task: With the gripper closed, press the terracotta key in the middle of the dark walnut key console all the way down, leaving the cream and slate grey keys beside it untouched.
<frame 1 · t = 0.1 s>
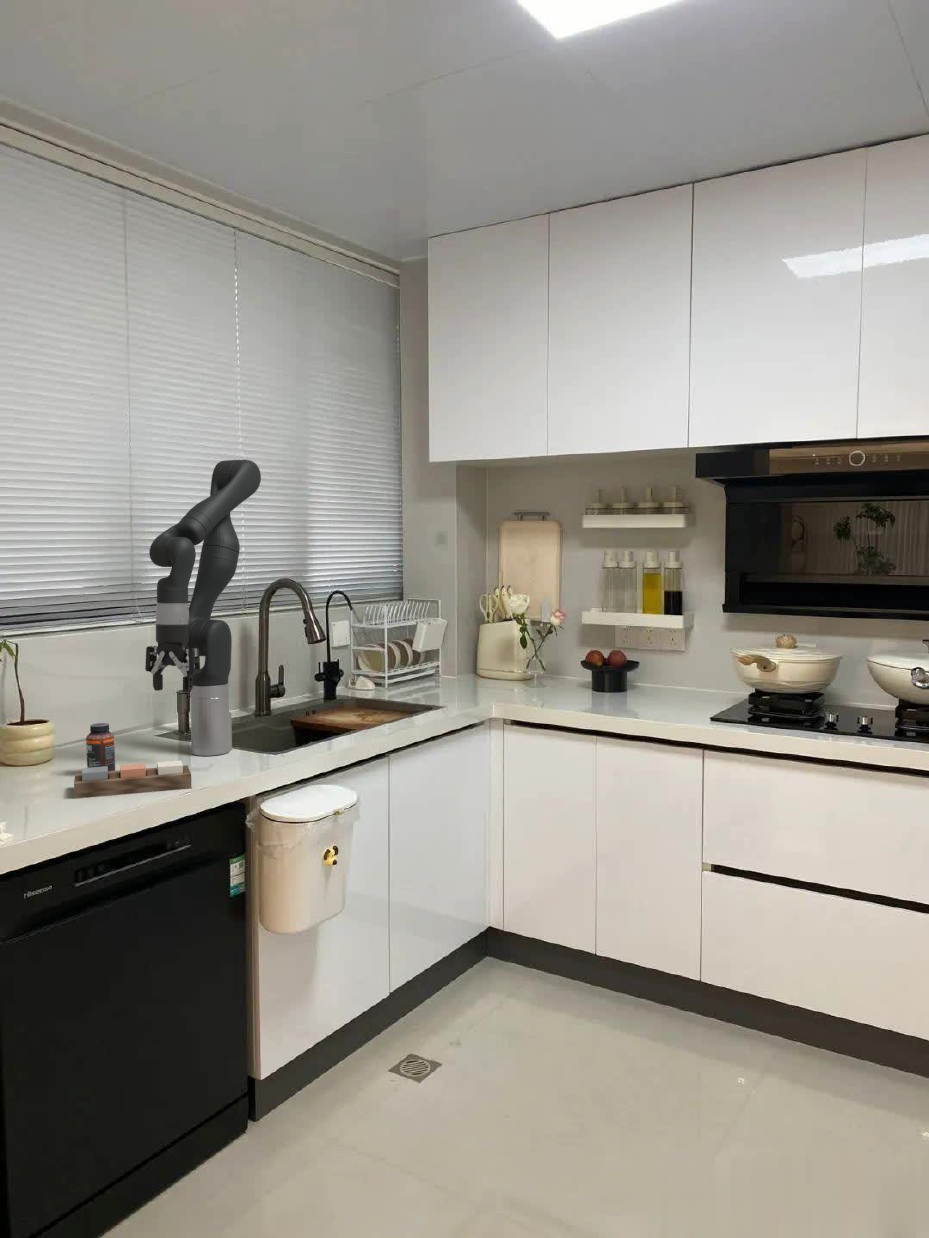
hand: (172, 691, 223), 17 cm above the worktop, tool pointing down, fingers open, 8 cm apart
supplement bottle: (101, 774, 214), on the worktop
slate key: (95, 774, 198), point 4 cm above the worktop, slide at 0.0 cm
cream key: (169, 768, 204), point 3 cm above the worktop, slide at 0.0 cm
terracotta key: (133, 771, 201), point 4 cm above the worktop, slide at 0.0 cm
key console: (133, 788, 201), on the worktop
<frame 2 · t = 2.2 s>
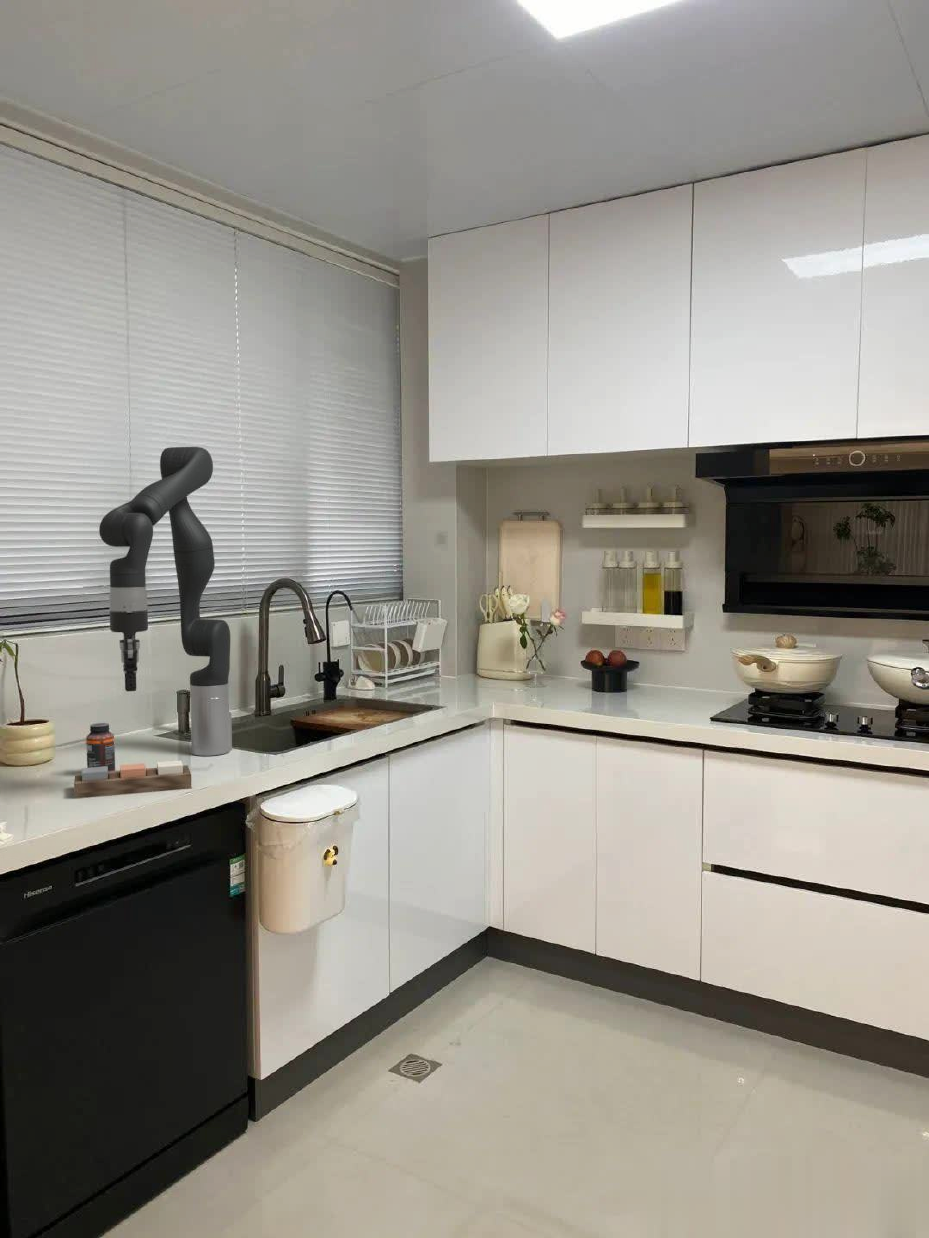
hand: (130, 690, 200), 21 cm above the worktop, tool pointing down, fingers closed
nothing on the worktop moved.
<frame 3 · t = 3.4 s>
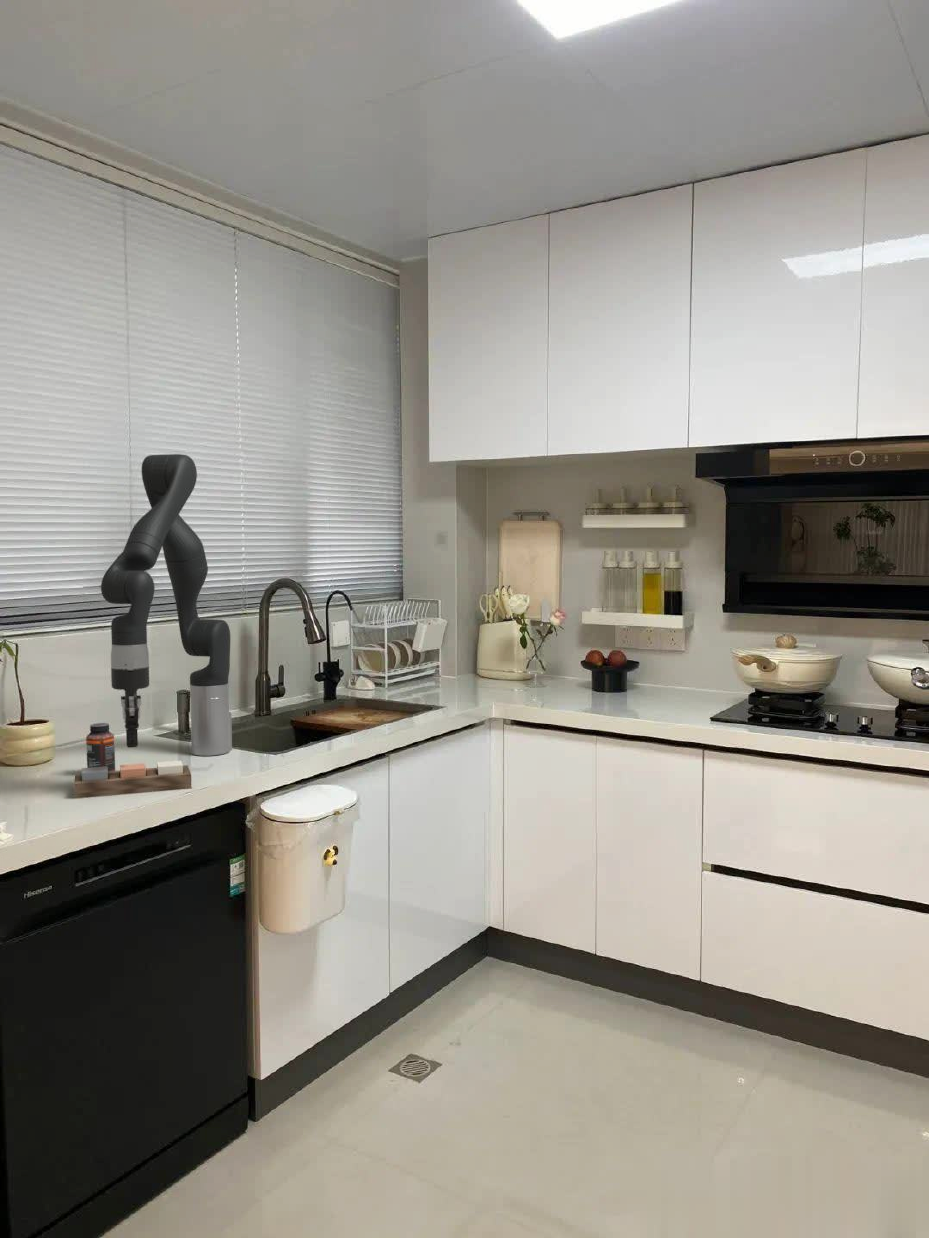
hand: (132, 746, 200), 9 cm above the worktop, tool pointing down, fingers closed
nothing on the worktop moved.
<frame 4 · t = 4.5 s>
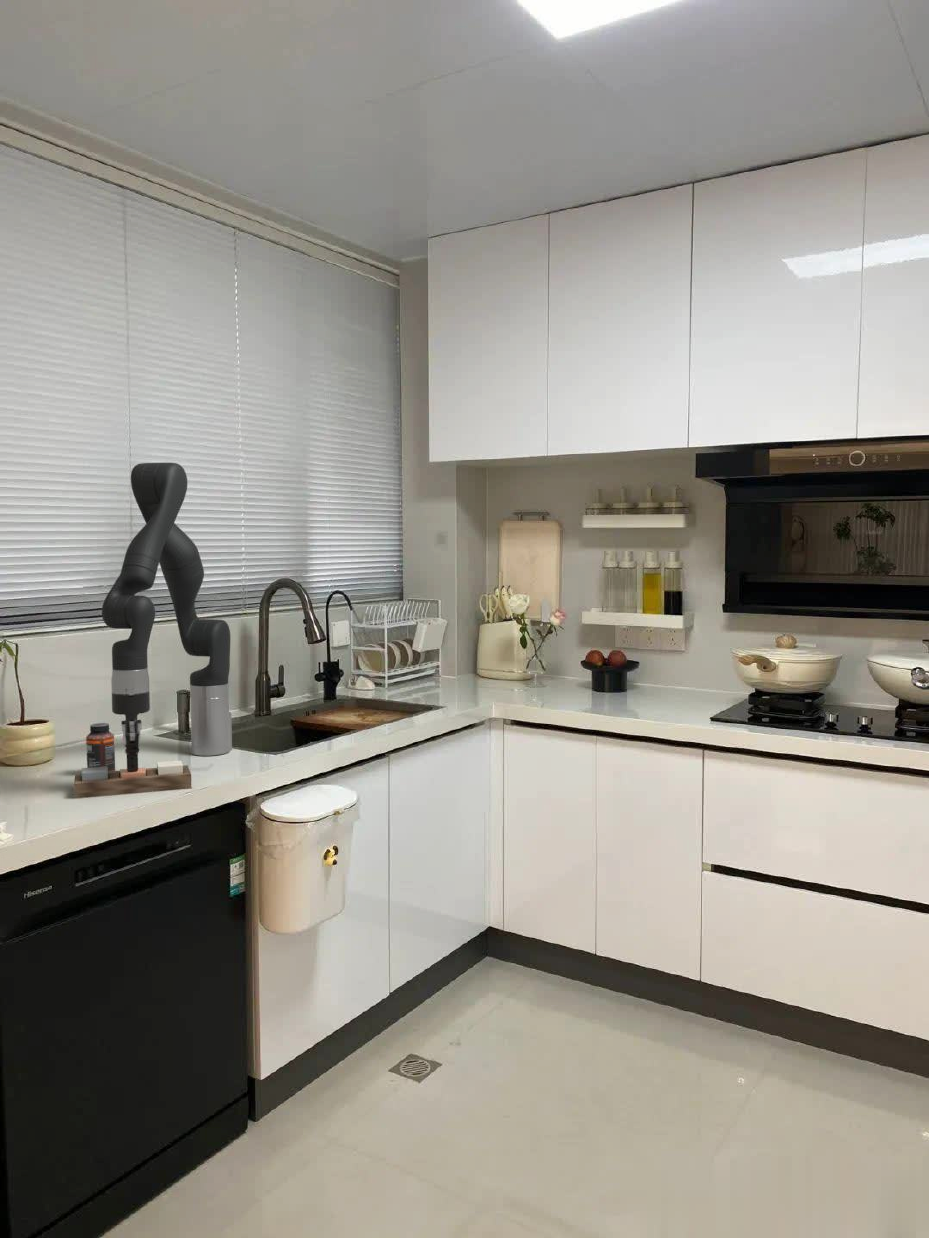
hand: (132, 771, 201), 4 cm above the worktop, tool pointing down, fingers closed
terracotta key: (133, 776, 201), point 3 cm above the worktop, slide at 0.9 cm, touching gripper
everything else where it was.
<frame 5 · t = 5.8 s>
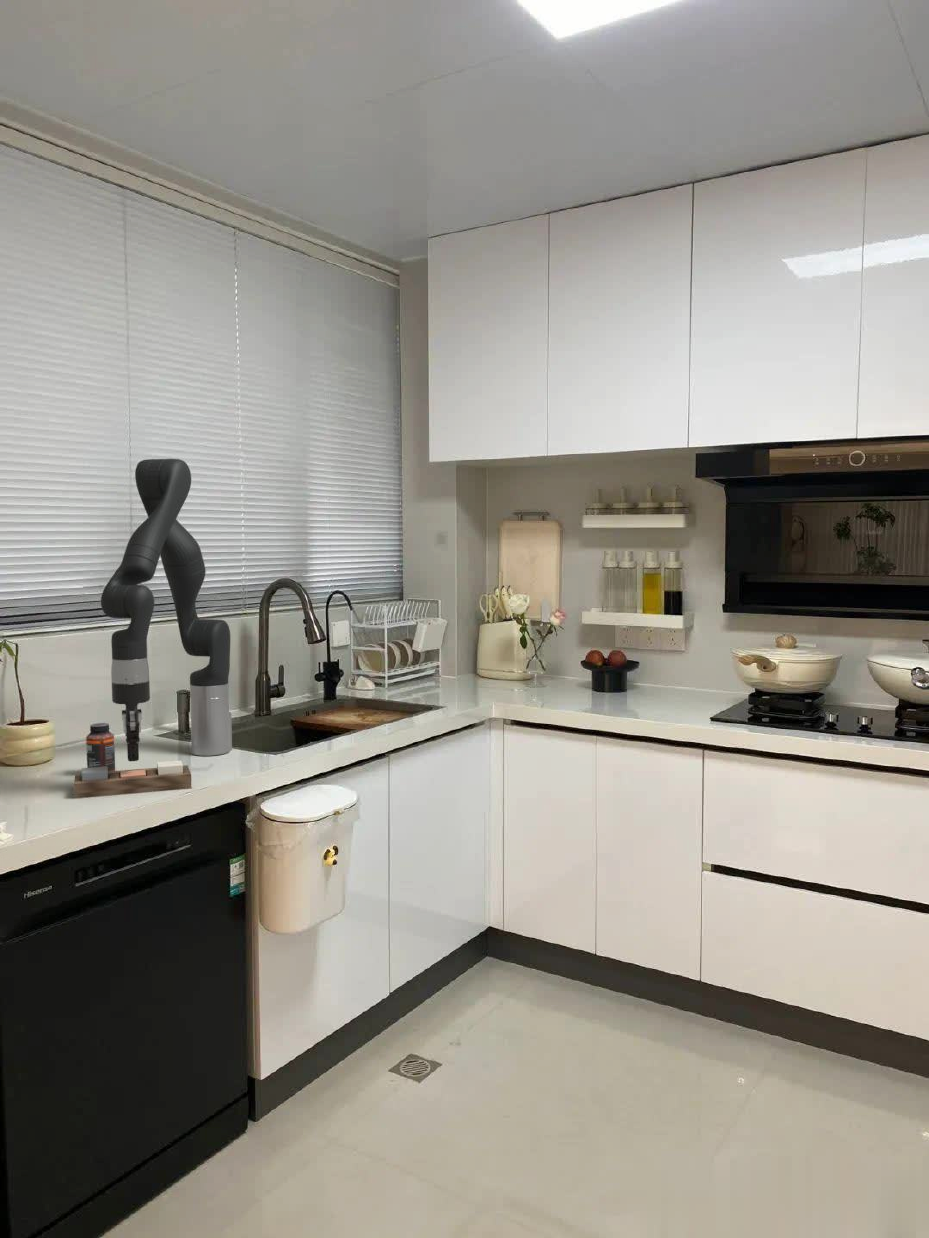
hand: (133, 760, 201), 6 cm above the worktop, tool pointing down, fingers closed
terracotta key: (133, 778, 201), point 2 cm above the worktop, slide at 1.4 cm
everything else where it was.
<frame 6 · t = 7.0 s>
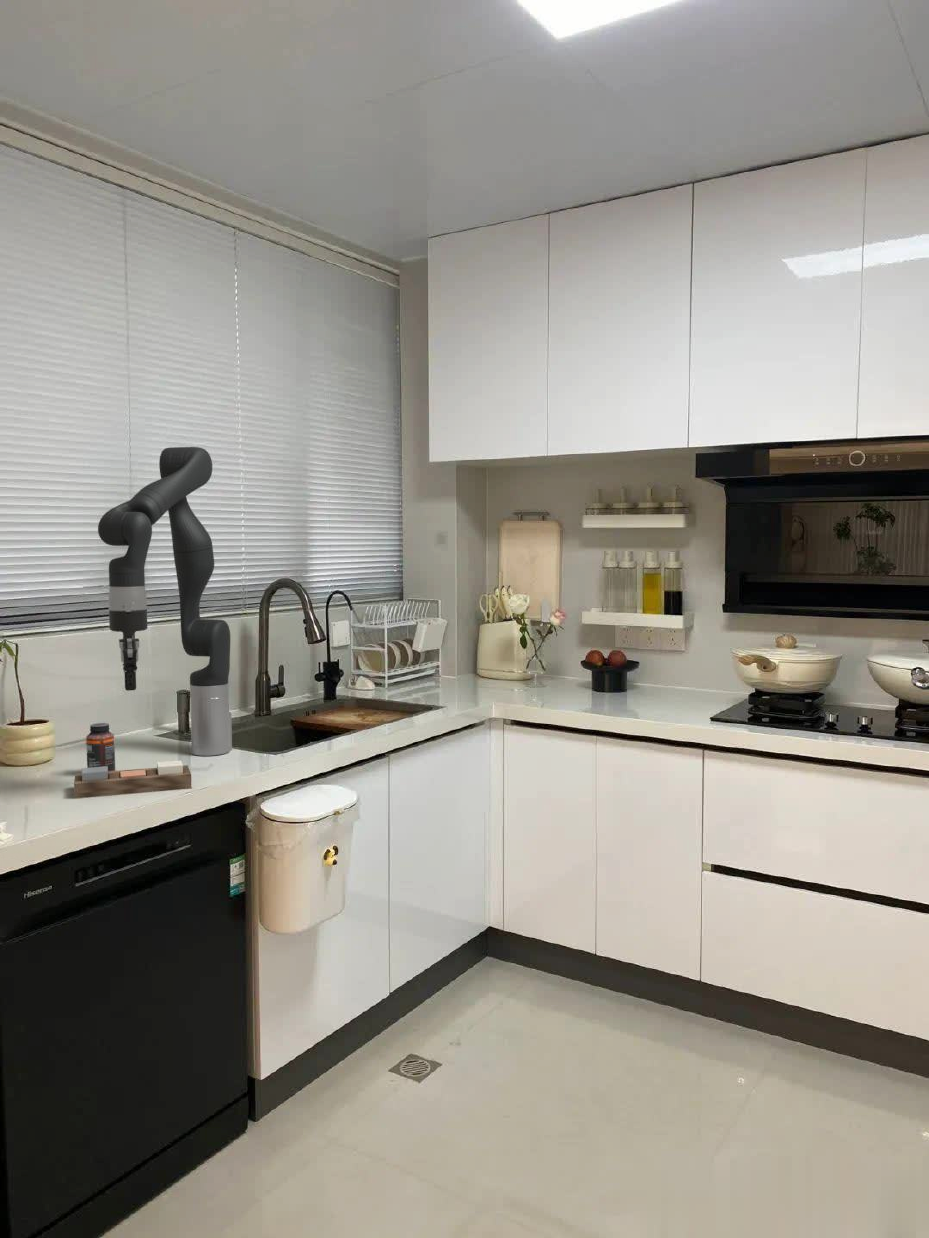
hand: (130, 689, 200), 21 cm above the worktop, tool pointing down, fingers closed
nothing on the worktop moved.
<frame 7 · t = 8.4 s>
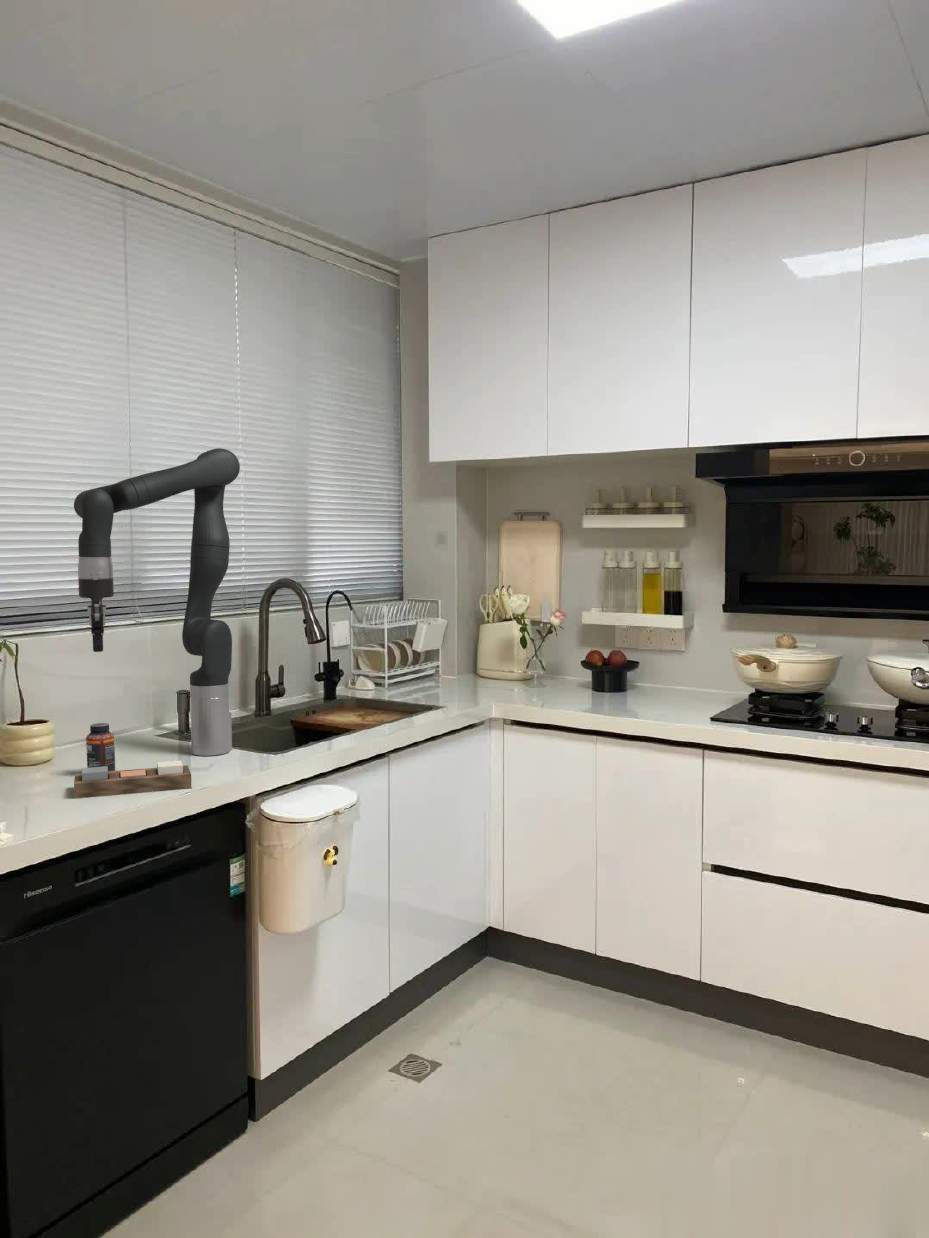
hand: (98, 651, 220), 27 cm above the worktop, tool pointing down, fingers closed
nothing on the worktop moved.
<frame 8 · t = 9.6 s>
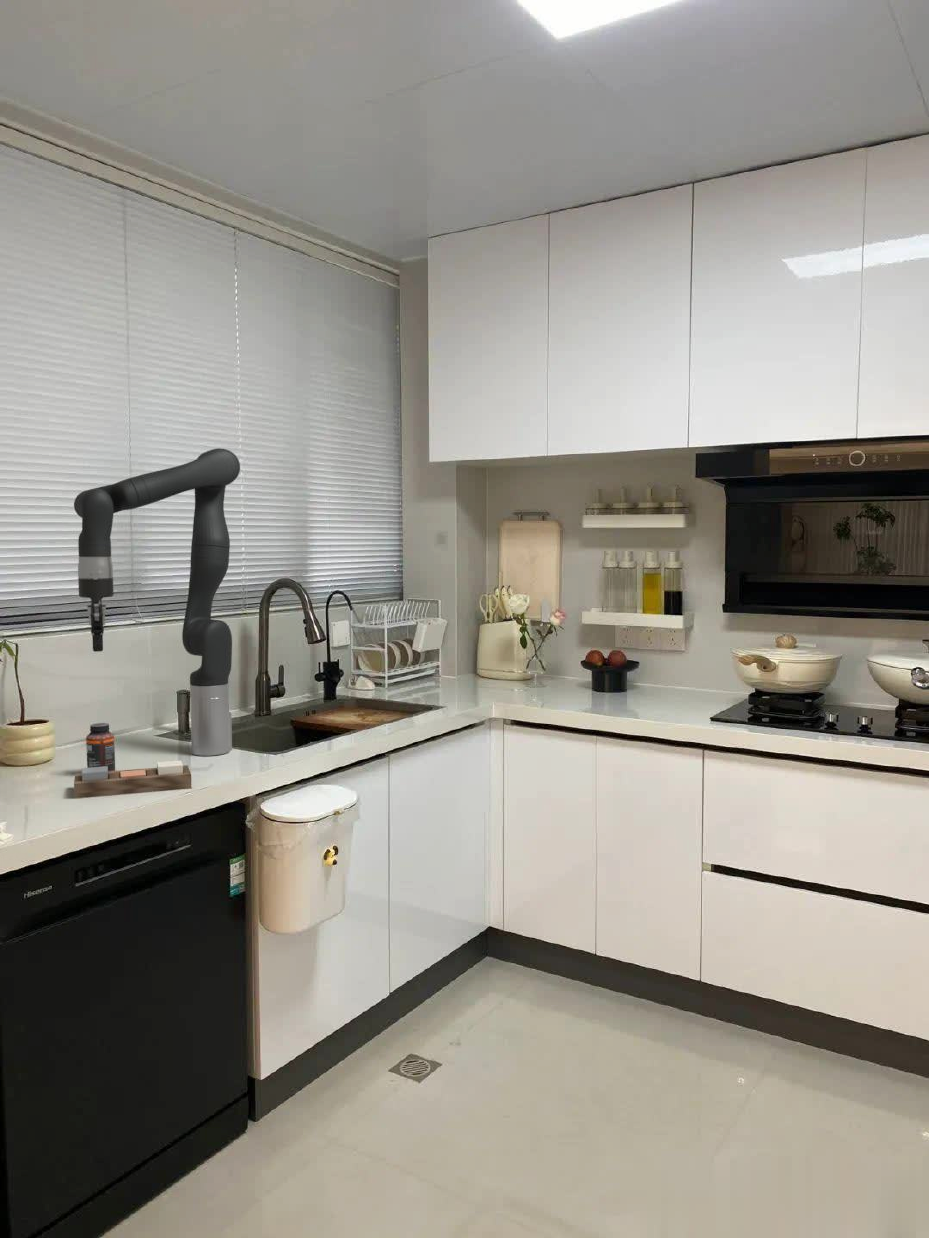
hand: (98, 651, 220), 27 cm above the worktop, tool pointing down, fingers closed
nothing on the worktop moved.
at the end: terracotta key slide at 1.4 cm; cream key slide at 0.0 cm; slate key slide at 0.0 cm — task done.
